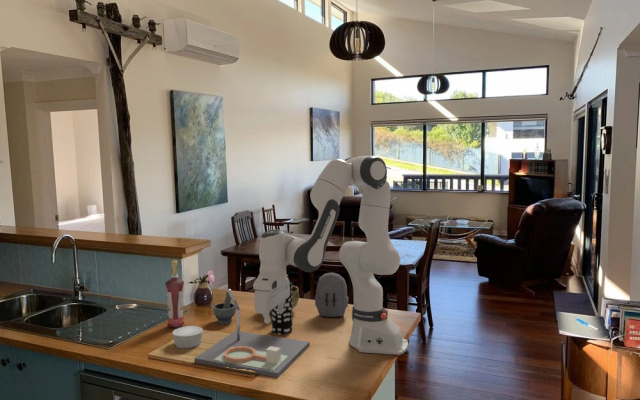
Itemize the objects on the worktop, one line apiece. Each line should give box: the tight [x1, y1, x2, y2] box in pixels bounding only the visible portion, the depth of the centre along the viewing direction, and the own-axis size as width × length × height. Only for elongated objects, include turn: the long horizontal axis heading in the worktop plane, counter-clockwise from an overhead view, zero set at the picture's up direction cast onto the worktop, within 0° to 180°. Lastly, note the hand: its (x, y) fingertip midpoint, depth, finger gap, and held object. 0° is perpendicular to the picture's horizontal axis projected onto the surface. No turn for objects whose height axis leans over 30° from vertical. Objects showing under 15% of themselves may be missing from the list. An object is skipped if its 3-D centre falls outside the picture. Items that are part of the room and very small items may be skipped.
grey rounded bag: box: [314, 272, 349, 318], centre depth 215 cm, size 15×8×20 cm, turn 81°
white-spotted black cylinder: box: [271, 280, 293, 336], centre depth 197 cm, size 8×8×20 cm
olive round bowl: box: [270, 274, 300, 313], centre depth 222 cm, size 22×17×15 cm
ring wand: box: [224, 346, 281, 364], centre depth 168 cm, size 20×11×4 cm, turn 70°
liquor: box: [165, 259, 185, 329], centre depth 202 cm, size 7×7×28 cm
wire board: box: [194, 330, 311, 378], centre depth 176 cm, size 32×28×2 cm
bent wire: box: [227, 288, 241, 341], centre depth 181 cm, size 1×8×22 cm, turn 159°
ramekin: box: [172, 325, 204, 349], centre depth 184 cm, size 11×11×5 cm
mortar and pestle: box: [212, 291, 237, 325], centre depth 209 cm, size 11×9×12 cm
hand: (274, 318), depth 164 cm, fingers open, 8 cm apart
